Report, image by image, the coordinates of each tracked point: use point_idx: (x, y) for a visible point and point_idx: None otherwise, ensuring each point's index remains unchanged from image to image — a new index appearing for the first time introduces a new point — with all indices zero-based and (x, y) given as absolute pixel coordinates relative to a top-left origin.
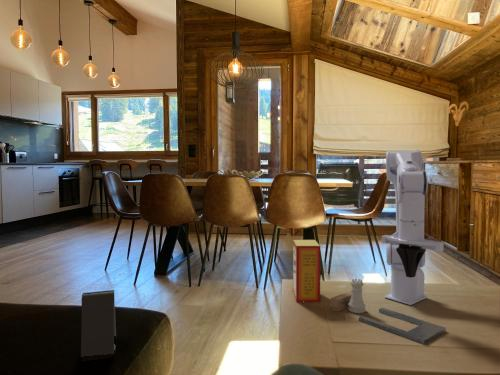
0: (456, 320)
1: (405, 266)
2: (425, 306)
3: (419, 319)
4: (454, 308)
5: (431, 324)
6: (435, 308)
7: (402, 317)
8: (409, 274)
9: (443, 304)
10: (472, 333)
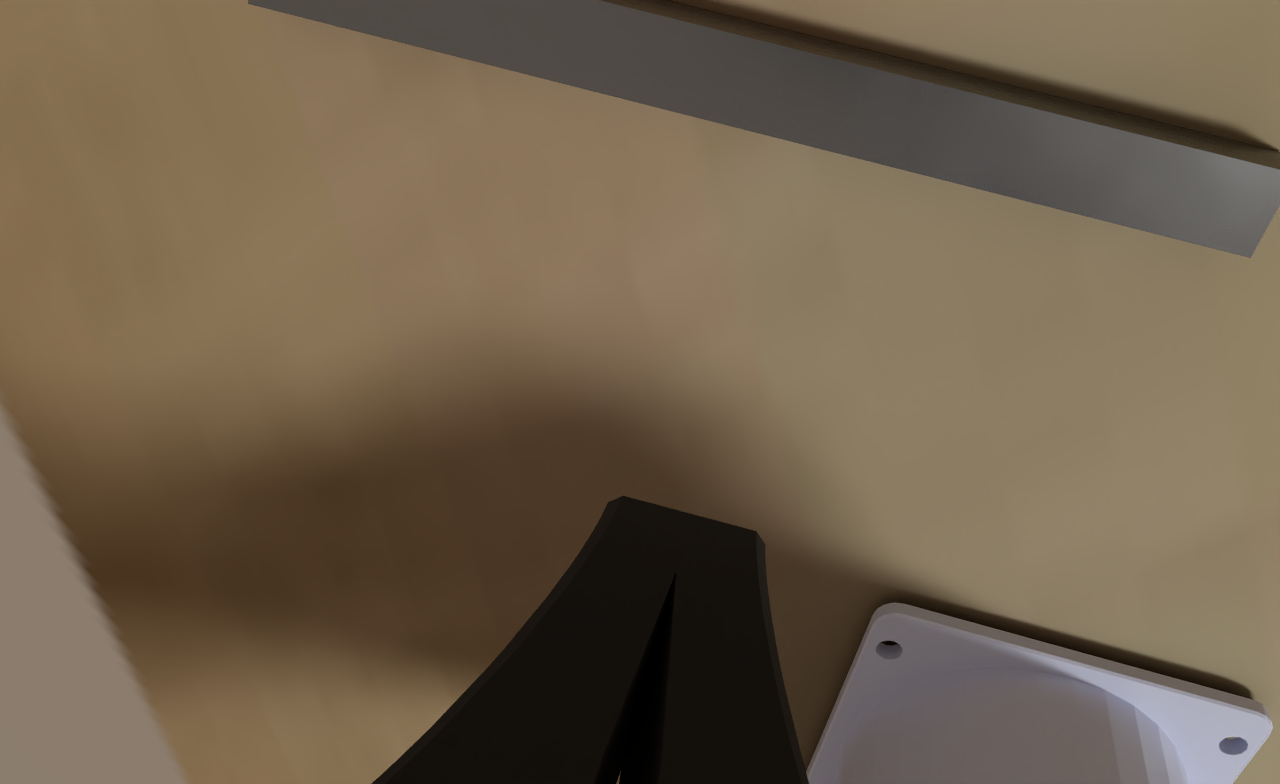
0: (325, 407)
1: (723, 731)
2: None
3: (617, 96)
4: None
5: (427, 3)
6: None
7: (864, 61)
8: (636, 541)
9: None
10: (56, 123)
